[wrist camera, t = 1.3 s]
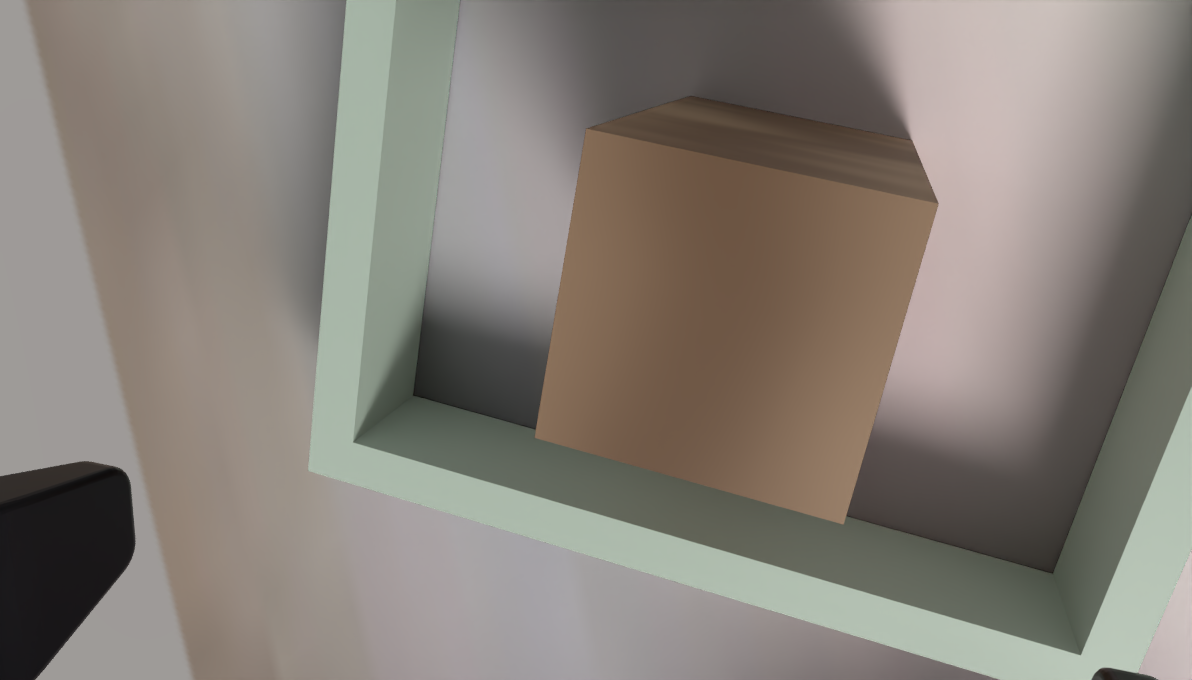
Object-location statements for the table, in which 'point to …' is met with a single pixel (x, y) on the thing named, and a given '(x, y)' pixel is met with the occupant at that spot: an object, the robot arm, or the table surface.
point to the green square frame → (693, 511)
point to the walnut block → (735, 298)
